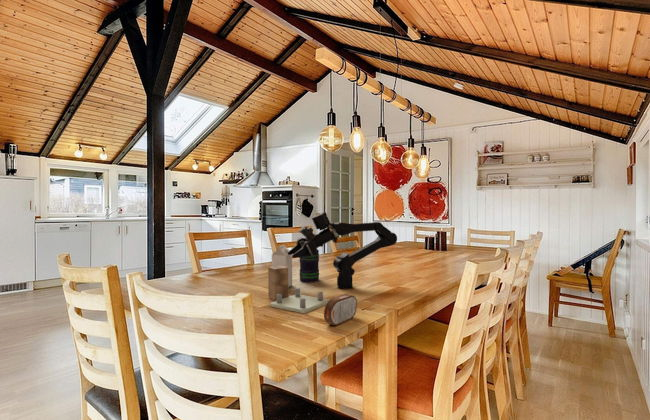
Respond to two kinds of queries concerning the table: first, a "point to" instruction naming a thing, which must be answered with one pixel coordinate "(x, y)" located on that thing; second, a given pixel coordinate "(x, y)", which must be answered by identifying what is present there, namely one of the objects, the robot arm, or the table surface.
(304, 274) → the dark ribbed canister
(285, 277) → the walnut block
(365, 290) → the table surface
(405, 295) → the table surface
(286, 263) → the milk carton
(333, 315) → the tin
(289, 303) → the peg stand
